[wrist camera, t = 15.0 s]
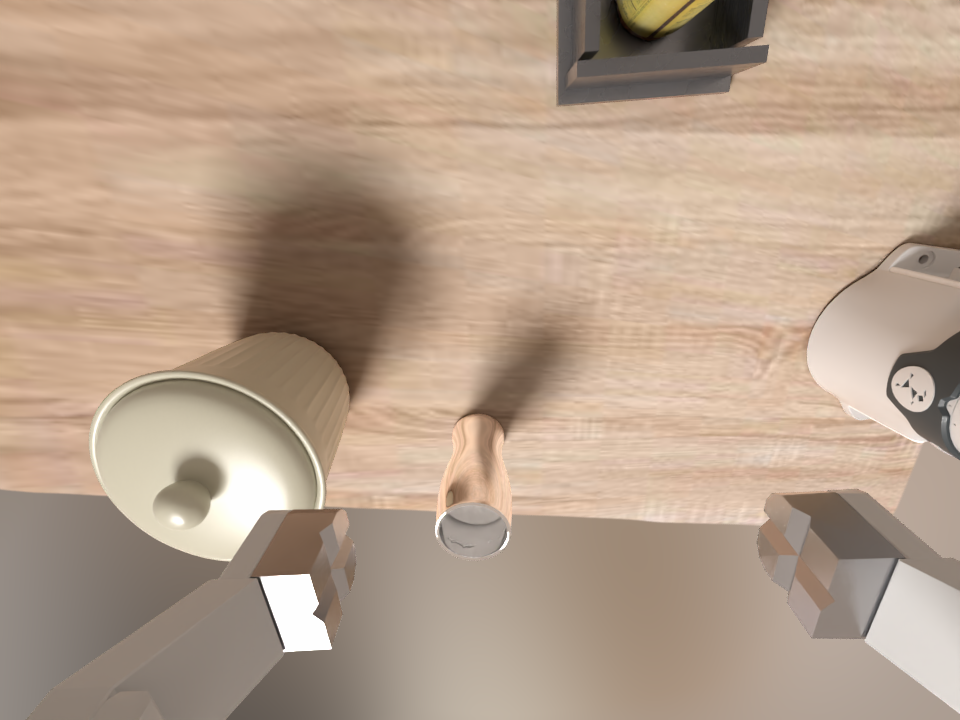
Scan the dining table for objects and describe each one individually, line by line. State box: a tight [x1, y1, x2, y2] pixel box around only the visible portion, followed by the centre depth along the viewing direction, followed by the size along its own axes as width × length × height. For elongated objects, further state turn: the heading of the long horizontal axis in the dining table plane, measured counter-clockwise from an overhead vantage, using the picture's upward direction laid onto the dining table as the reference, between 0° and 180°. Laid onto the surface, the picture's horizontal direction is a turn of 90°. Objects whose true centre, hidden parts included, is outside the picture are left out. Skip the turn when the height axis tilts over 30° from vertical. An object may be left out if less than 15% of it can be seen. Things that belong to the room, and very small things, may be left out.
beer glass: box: [435, 414, 512, 561], centre depth 45 cm, size 7×7×15 cm
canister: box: [89, 332, 350, 561], centre depth 40 cm, size 18×18×21 cm
